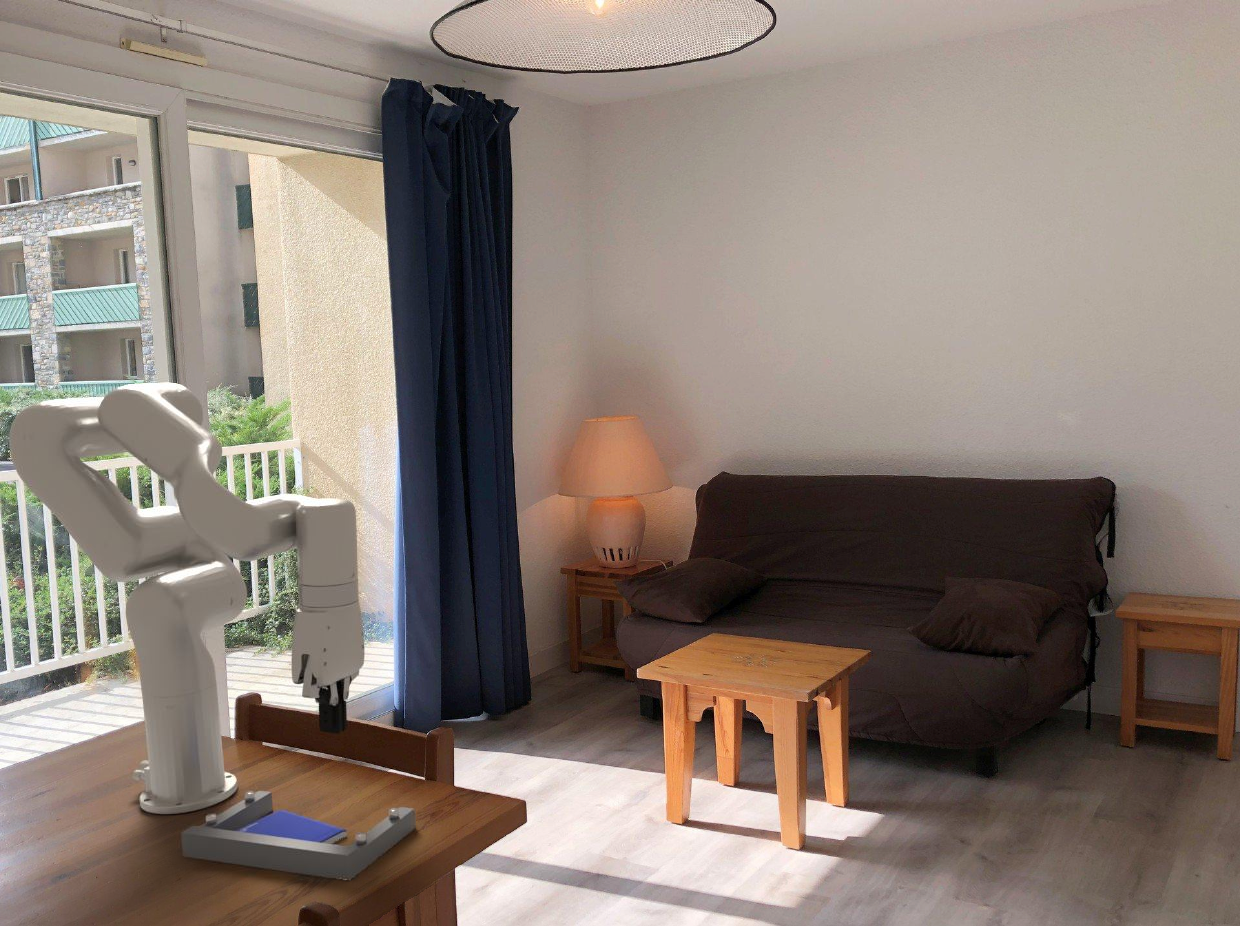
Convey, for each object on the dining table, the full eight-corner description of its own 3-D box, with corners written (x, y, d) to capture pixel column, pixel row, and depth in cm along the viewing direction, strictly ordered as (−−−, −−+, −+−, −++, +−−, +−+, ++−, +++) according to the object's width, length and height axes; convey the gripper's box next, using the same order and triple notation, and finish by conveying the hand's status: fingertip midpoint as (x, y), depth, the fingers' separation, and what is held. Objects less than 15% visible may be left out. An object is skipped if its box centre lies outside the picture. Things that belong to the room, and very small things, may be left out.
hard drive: (228, 833, 129) (292, 855, 122) (282, 808, 136) (346, 827, 129) (229, 845, 129) (293, 868, 122) (283, 819, 136) (347, 839, 129)
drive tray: (183, 856, 125) (180, 828, 125) (260, 808, 138) (258, 783, 138) (349, 880, 117) (347, 851, 117) (415, 827, 130) (413, 800, 130)
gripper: (339, 580, 142) (343, 709, 144) (266, 604, 128) (272, 747, 130) (385, 584, 140) (389, 715, 142) (317, 609, 126) (322, 755, 128)
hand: (333, 730), depth 136 cm, fingers closed
